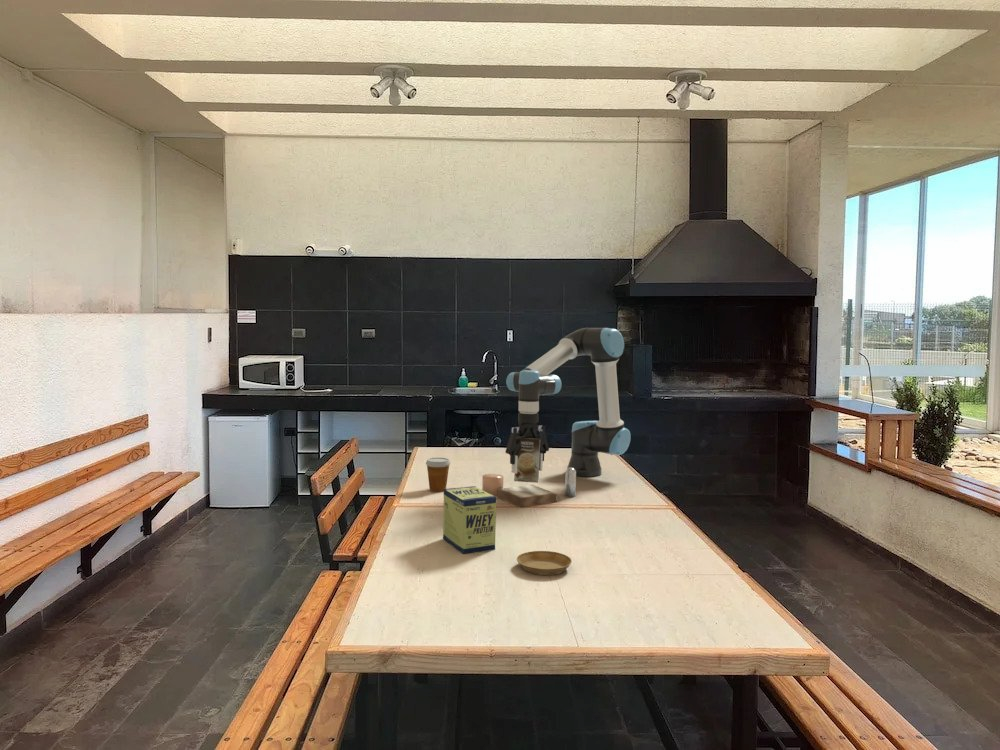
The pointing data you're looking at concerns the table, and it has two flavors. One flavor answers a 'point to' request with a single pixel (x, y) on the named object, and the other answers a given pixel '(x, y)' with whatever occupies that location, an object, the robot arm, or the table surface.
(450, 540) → the protein box
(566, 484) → the salt shaker
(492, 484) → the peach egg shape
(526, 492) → the picture frame
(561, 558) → the plant saucer
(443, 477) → the disposable coffee cup
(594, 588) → the table surface
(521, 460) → the coffee box
